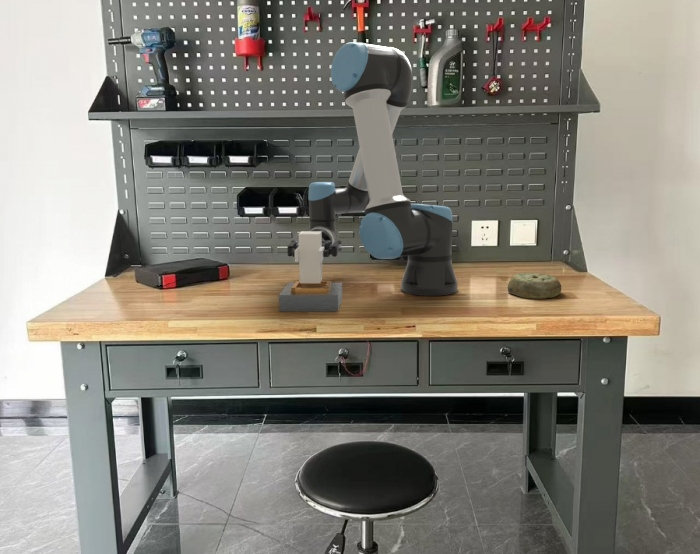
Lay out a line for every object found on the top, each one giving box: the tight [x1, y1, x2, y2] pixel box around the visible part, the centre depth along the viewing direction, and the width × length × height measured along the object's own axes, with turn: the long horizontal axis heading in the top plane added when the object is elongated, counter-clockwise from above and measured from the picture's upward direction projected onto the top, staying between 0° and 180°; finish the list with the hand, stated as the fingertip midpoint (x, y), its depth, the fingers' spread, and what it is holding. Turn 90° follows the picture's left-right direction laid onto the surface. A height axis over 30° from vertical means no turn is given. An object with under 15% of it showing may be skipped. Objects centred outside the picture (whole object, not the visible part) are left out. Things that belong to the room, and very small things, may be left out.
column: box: [298, 230, 323, 283], centre depth 146 cm, size 5×5×12 cm
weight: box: [507, 272, 562, 300], centre depth 156 cm, size 14×14×5 cm
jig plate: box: [278, 280, 343, 313], centre depth 148 cm, size 14×14×5 cm
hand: (308, 256), depth 141 cm, fingers closed on column, 5 cm apart
